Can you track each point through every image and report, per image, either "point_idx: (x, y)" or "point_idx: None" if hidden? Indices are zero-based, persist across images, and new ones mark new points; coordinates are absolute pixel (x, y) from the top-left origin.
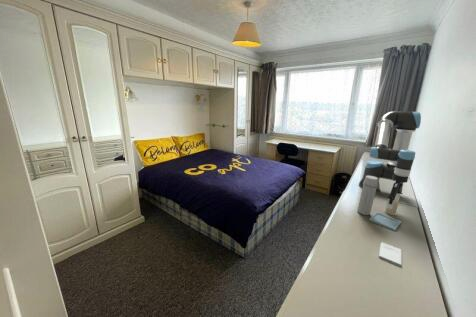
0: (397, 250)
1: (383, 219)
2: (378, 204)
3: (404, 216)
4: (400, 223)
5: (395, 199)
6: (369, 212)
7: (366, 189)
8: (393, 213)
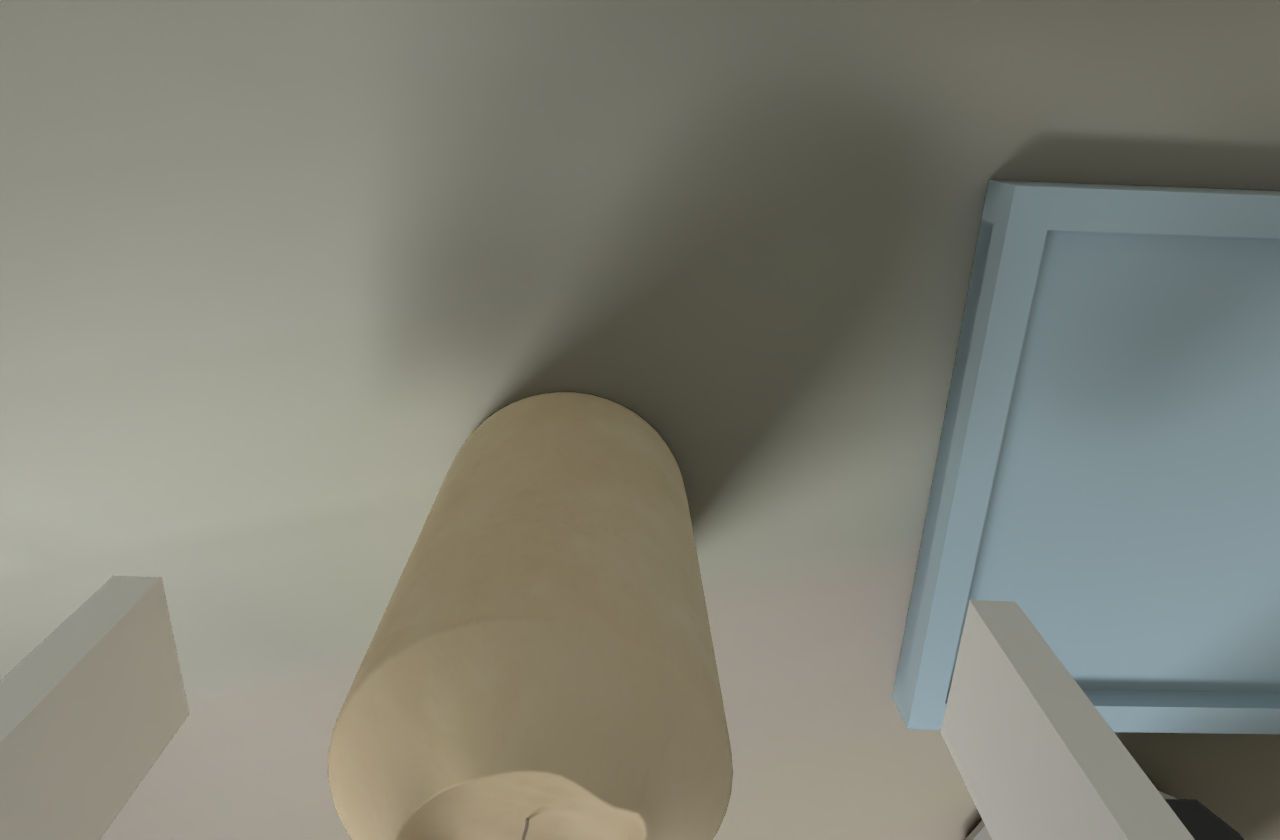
0: None
1: (1164, 529)
2: (292, 780)
3: (424, 186)
4: (1070, 184)
5: (401, 833)
6: None
7: None
8: (657, 448)
